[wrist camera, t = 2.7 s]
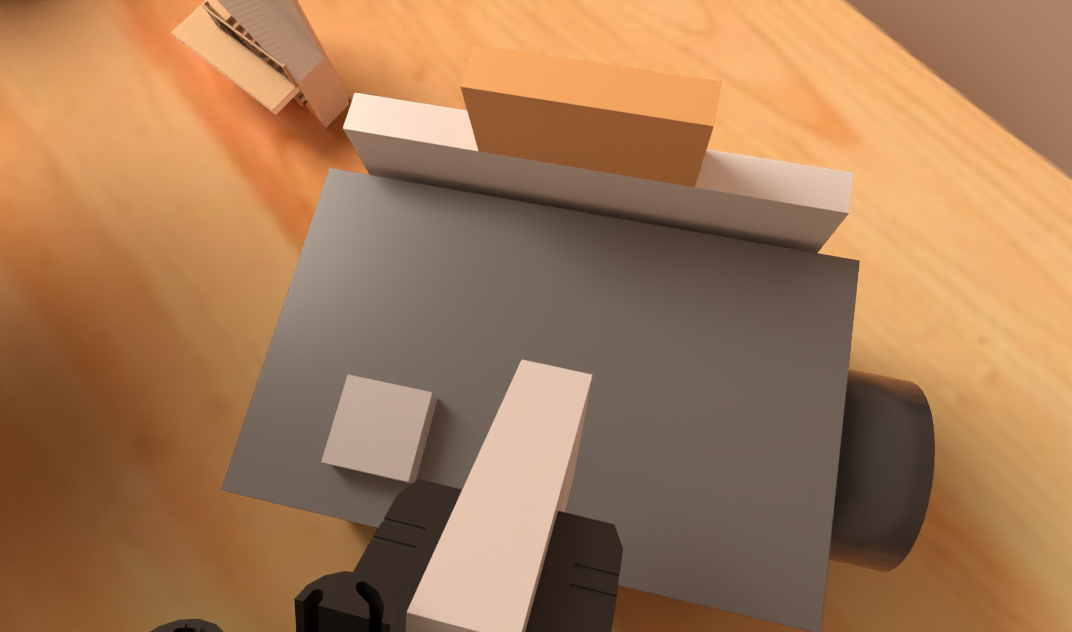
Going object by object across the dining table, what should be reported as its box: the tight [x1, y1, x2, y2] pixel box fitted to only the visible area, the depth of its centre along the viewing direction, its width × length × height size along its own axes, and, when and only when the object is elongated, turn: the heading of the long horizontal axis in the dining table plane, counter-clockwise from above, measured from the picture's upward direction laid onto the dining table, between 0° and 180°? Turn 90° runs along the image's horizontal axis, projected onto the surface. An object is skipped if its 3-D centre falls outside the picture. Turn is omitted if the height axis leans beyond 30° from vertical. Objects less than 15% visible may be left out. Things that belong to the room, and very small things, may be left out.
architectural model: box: [171, 0, 350, 128], centre depth 33 cm, size 3×7×7 cm, turn 51°
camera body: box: [221, 168, 935, 632], centre depth 24 cm, size 10×19×11 cm, turn 77°
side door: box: [343, 45, 853, 253], centre depth 24 cm, size 1×14×15 cm, turn 78°
